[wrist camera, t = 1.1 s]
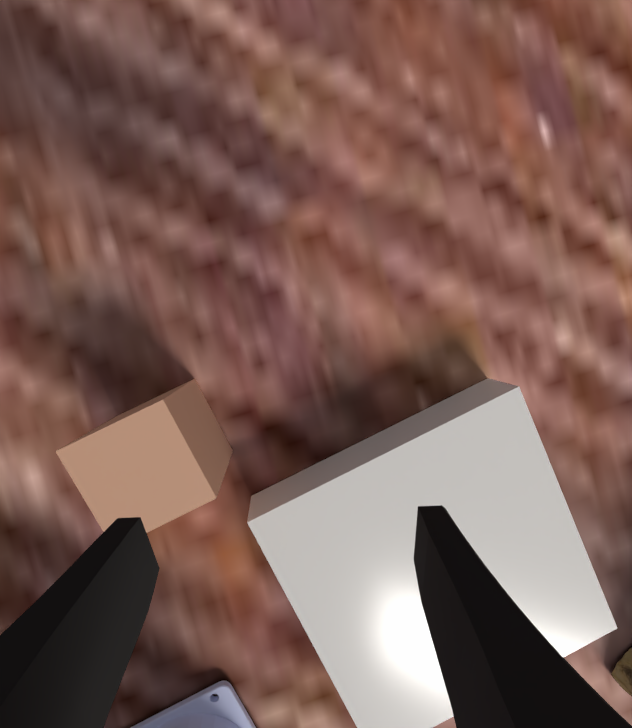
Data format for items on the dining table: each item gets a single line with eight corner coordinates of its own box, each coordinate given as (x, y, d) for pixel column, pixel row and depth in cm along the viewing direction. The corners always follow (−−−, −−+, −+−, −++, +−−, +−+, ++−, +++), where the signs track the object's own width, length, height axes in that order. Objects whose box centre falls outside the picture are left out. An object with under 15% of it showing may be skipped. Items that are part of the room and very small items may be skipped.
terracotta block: (158, 487, 22) (113, 549, 16) (117, 415, 21) (55, 451, 15) (233, 450, 22) (216, 498, 16) (194, 378, 21) (163, 399, 15)
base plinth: (362, 705, 24) (374, 758, 21) (251, 495, 22) (247, 522, 19) (576, 591, 25) (617, 628, 22) (487, 378, 23) (519, 386, 20)
